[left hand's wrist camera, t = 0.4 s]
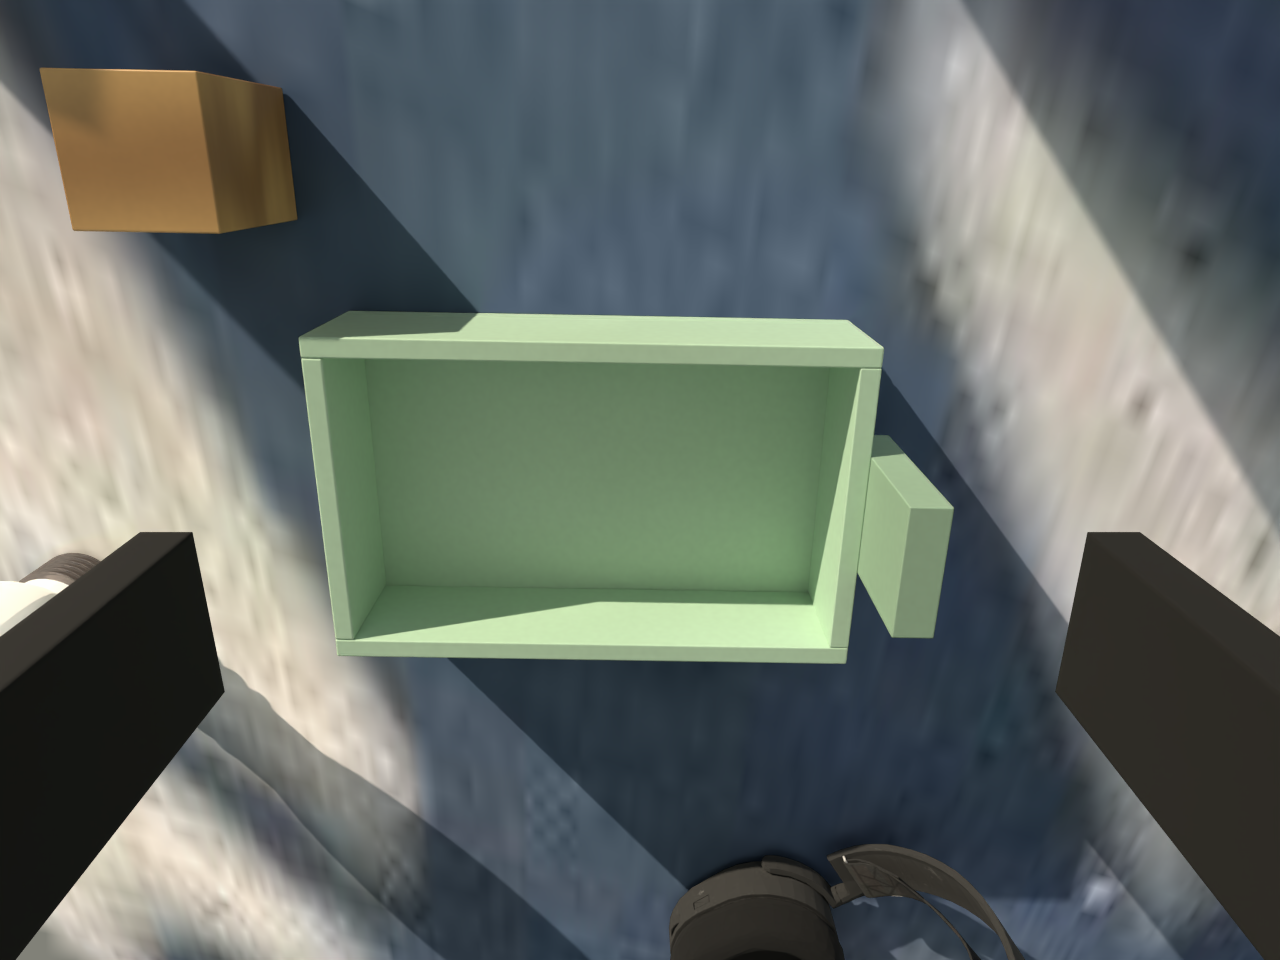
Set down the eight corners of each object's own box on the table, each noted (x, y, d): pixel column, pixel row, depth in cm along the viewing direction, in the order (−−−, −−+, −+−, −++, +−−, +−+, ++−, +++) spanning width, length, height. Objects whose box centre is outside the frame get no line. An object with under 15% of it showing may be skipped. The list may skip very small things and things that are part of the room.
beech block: (155, 85, 34) (38, 67, 27) (282, 87, 34) (196, 70, 27) (177, 217, 35) (72, 231, 29) (298, 219, 35) (220, 233, 29)
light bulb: (46, 501, 40) (-162, 621, 29) (177, 582, 41) (23, 723, 31) (-13, 602, 42) (-229, 748, 31) (114, 675, 43) (-52, 838, 33)
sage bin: (347, 310, 37) (237, 367, 27) (883, 320, 37) (975, 381, 27) (376, 591, 42) (292, 730, 31) (850, 599, 42) (917, 740, 32)
